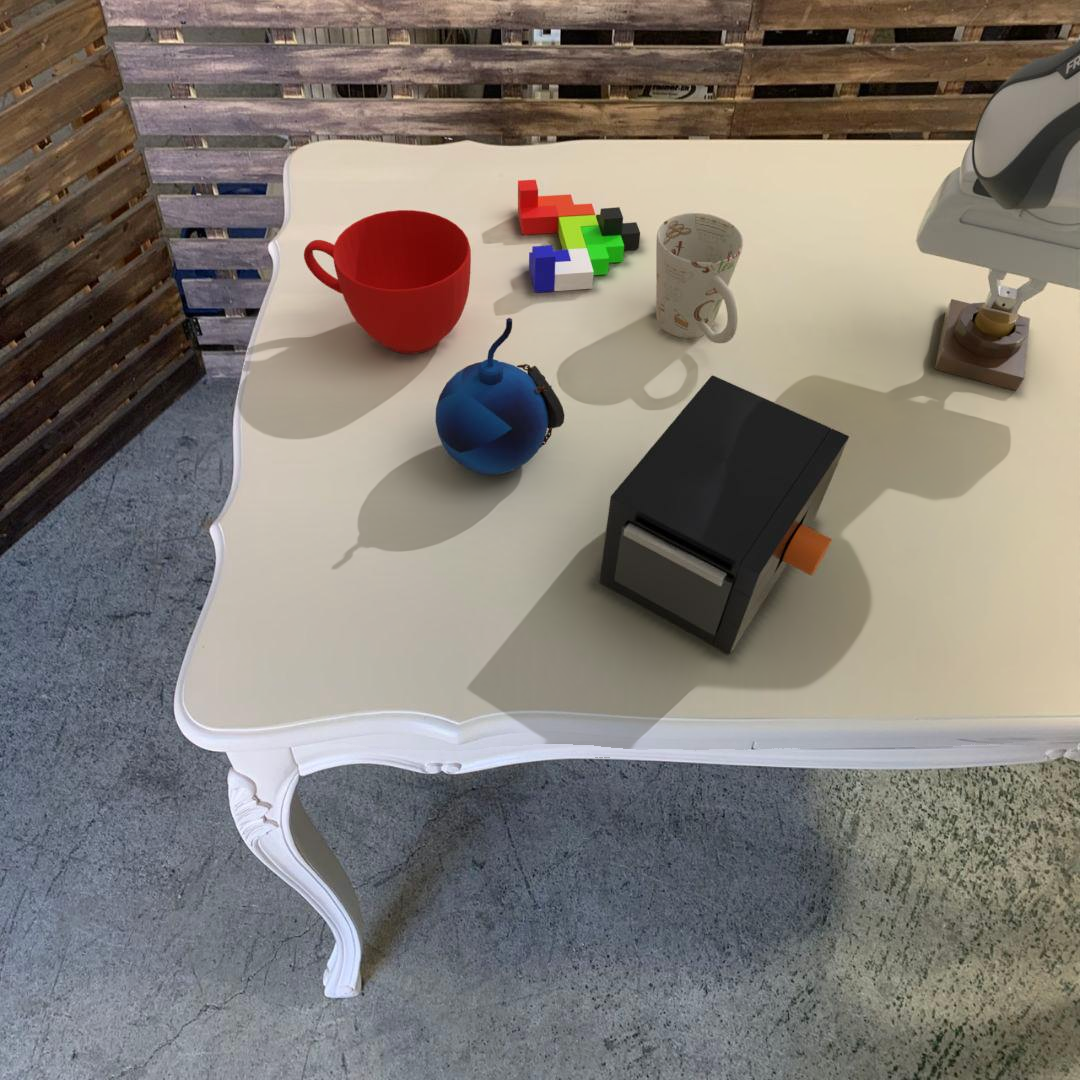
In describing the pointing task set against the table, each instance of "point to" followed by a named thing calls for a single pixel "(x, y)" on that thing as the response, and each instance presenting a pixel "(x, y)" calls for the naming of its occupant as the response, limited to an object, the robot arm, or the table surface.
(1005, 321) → the button
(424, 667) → the table surface
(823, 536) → the oven button
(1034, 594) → the table surface
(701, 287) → the mug
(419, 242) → the ceramic cup
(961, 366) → the button block
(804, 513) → the oven
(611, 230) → the building blocks
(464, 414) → the bomb
